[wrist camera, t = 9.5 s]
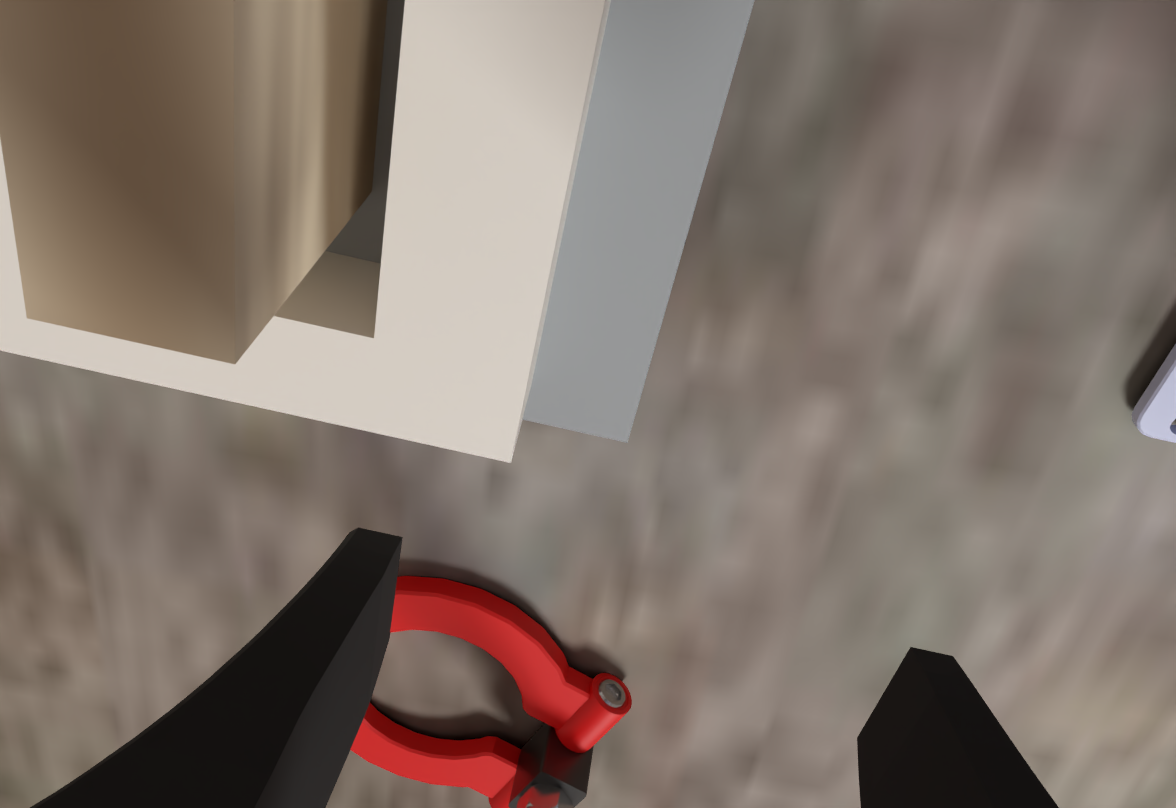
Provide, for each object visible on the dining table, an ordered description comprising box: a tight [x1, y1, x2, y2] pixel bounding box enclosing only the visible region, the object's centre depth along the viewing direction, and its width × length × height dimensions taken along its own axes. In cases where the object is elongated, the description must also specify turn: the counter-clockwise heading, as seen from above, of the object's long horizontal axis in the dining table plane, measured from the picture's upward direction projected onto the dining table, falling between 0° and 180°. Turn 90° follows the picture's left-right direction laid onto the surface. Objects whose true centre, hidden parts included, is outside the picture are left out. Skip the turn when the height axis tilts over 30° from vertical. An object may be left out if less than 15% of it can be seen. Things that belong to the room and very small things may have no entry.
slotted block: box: [0, 0, 754, 463], centre depth 17 cm, size 16×14×4 cm
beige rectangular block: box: [0, 0, 388, 364], centre depth 15 cm, size 3×5×7 cm, turn 168°
